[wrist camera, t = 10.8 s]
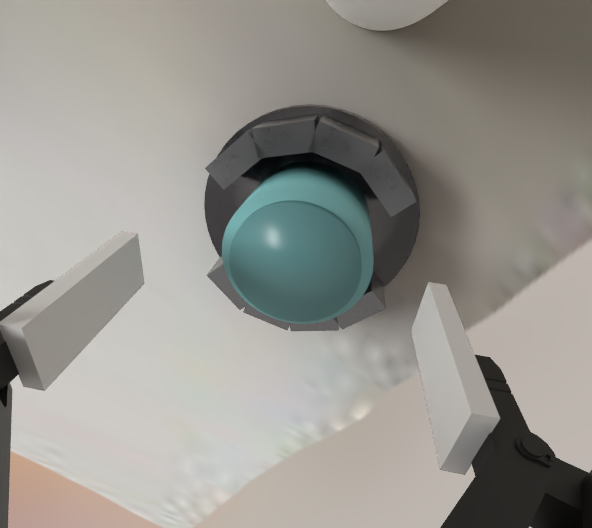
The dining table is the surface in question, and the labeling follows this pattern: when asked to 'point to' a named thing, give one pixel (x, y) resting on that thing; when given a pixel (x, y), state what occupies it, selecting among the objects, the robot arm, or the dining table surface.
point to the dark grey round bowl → (332, 151)
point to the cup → (384, 12)
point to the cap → (301, 244)
